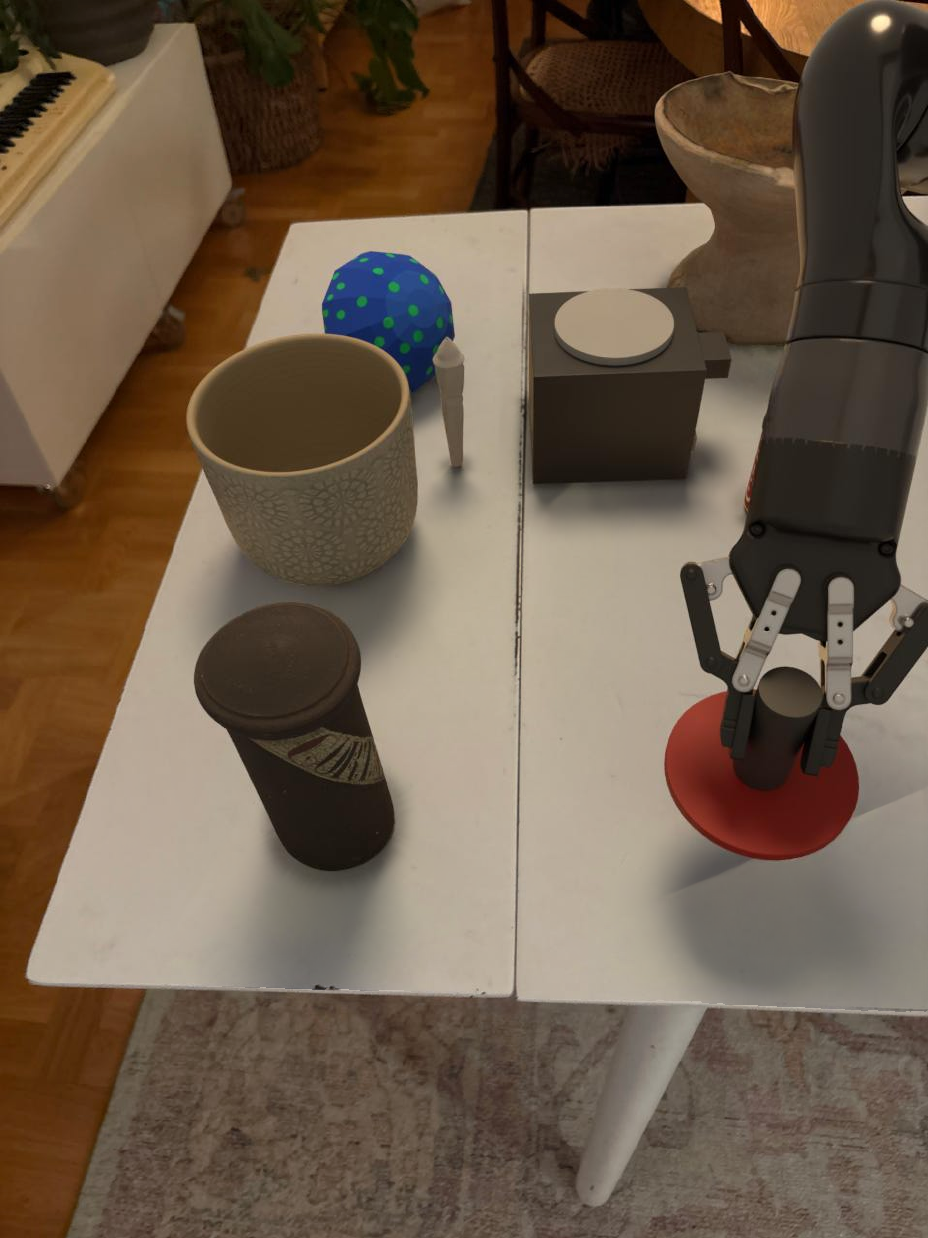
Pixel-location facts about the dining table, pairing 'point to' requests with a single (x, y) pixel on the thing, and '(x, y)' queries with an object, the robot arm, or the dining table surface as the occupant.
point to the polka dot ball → (391, 310)
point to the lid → (761, 774)
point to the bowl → (737, 201)
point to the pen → (451, 395)
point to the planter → (309, 455)
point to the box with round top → (617, 384)
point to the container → (301, 730)
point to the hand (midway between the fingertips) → (772, 762)
